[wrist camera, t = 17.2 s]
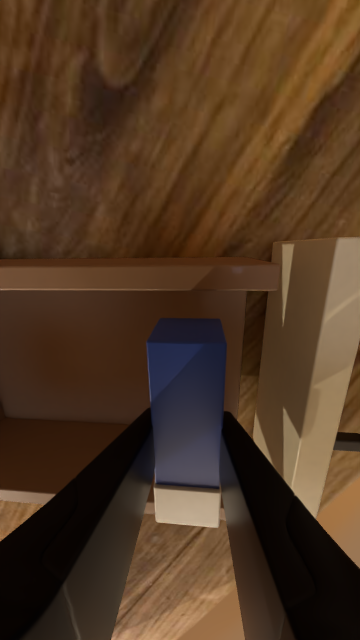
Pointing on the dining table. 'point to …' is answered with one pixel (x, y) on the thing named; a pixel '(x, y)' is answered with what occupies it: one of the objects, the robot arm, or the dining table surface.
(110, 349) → the drawer
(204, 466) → the eraser
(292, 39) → the dining table surface
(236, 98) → the dining table surface
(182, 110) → the dining table surface
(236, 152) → the dining table surface
